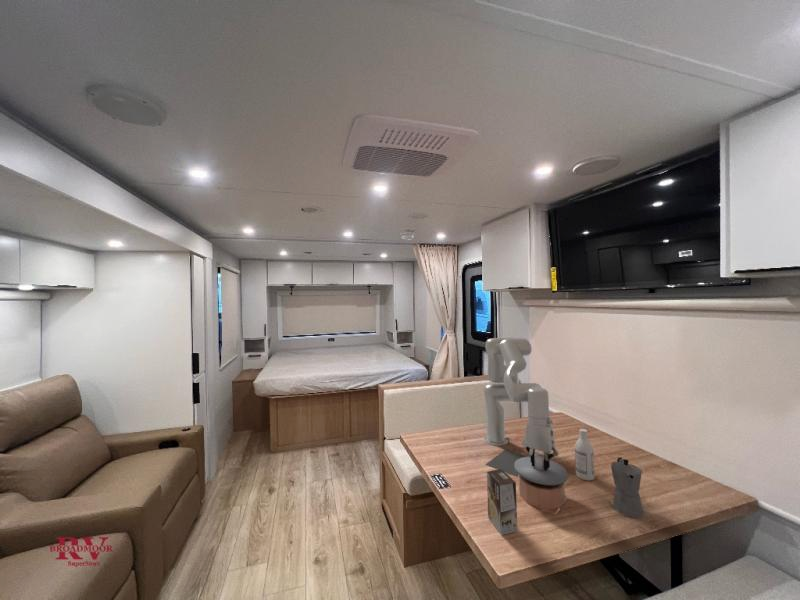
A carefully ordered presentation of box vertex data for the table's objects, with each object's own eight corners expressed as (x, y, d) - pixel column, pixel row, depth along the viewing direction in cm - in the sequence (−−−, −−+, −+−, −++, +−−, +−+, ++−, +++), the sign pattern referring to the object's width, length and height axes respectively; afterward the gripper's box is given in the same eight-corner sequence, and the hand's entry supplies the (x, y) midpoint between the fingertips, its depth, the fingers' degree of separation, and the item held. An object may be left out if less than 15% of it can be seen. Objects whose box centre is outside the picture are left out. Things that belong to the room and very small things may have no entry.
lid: (525, 455, 133) (525, 440, 133) (573, 470, 120) (573, 454, 120) (506, 472, 120) (505, 456, 120) (558, 491, 106) (558, 473, 107)
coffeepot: (651, 525, 103) (648, 470, 103) (617, 518, 106) (615, 466, 107) (634, 498, 117) (633, 451, 118) (606, 493, 121) (604, 447, 121)
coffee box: (518, 531, 101) (517, 482, 101) (501, 535, 99) (499, 485, 100) (503, 513, 110) (501, 468, 110) (486, 516, 108) (485, 471, 109)
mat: (505, 450, 158) (505, 449, 158) (547, 463, 144) (547, 463, 144) (485, 465, 143) (485, 464, 143) (530, 482, 129) (530, 481, 129)
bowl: (528, 479, 131) (527, 463, 131) (569, 495, 120) (568, 477, 120) (512, 496, 119) (511, 478, 120) (556, 515, 108) (555, 495, 109)
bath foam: (588, 472, 136) (586, 427, 137) (598, 481, 129) (596, 433, 130) (572, 472, 136) (571, 427, 137) (581, 481, 129) (580, 433, 130)
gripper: (564, 422, 117) (566, 471, 117) (521, 413, 129) (522, 456, 128) (558, 428, 112) (560, 479, 111) (513, 417, 124) (515, 463, 123)
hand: (540, 466), depth 120 cm, fingers closed on lid, 4 cm apart
